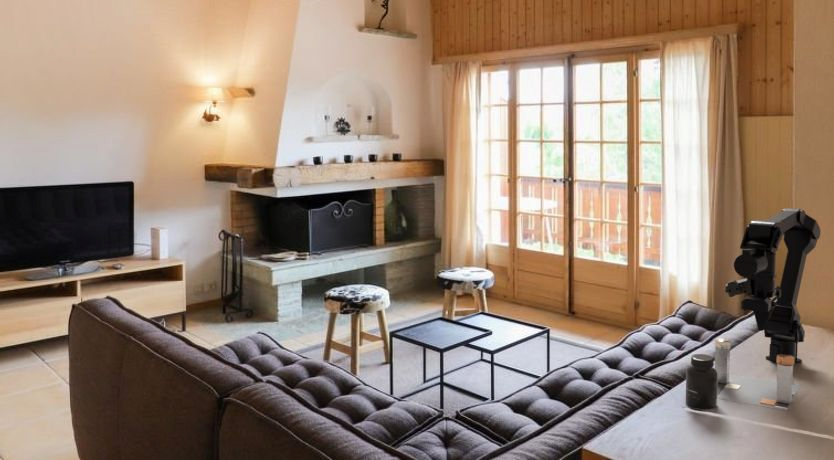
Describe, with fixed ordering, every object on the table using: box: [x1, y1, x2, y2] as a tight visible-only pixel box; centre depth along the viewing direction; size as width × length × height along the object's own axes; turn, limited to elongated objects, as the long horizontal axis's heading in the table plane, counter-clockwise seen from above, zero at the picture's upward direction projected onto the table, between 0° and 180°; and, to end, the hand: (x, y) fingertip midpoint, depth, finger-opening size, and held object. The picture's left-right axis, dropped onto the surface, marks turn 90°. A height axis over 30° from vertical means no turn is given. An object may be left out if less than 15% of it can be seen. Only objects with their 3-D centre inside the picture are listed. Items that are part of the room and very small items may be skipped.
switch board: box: [717, 373, 801, 412], centre depth 171 cm, size 18×18×1 cm
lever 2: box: [776, 354, 795, 404], centre depth 163 cm, size 4×4×11 cm
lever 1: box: [714, 337, 732, 384], centre depth 176 cm, size 4×4×11 cm
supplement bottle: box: [685, 353, 718, 412], centre depth 164 cm, size 7×7×12 cm
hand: (760, 330), depth 181 cm, fingers closed
